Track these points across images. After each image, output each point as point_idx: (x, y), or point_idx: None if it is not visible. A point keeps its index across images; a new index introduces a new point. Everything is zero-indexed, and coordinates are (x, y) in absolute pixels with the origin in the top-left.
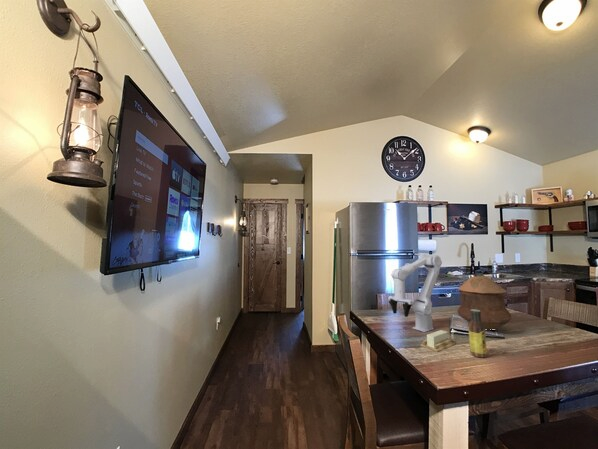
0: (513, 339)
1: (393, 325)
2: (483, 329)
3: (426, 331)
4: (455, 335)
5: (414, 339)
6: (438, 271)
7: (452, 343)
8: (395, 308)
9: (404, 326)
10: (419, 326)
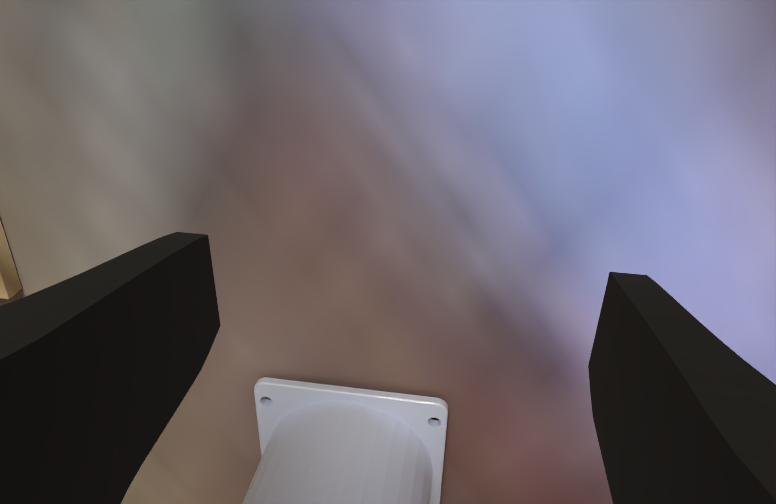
0: None
1: (733, 326)
2: None
3: (260, 408)
4: None
5: (128, 29)
6: None
7: None
8: (631, 454)
9: (572, 396)
10: (323, 430)
